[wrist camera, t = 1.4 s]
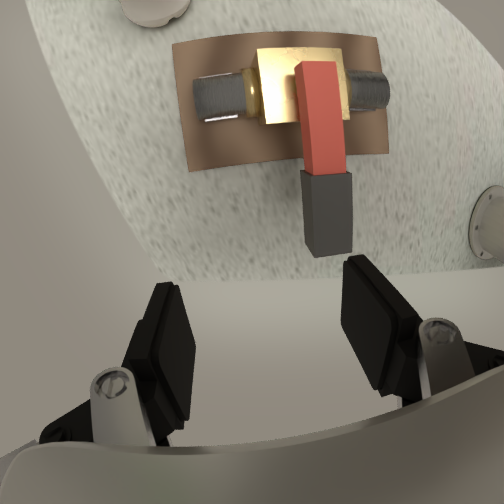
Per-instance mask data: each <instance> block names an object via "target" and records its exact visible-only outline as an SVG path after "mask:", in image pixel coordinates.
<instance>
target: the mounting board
mask: <svg viewBox="0 0 504 504" xmlns="http://www.w3.org/2000/svg"><path fill="white" fill-rule="evenodd" d="M286 47H317V48H339V49H341V51H342V58H343V65H344V67H345V69H353V70H367V71H372V72H381V73H382V68H381V61H380V55H379V49H378V43H377V38H376V37H370V36H362V35H353V34H343V33H329V32H303V31H285V32H259V33H245V34H234V35H225V36H218V37H210V38H204V39H198V40H192V41H186V42H181V43H176V44H172V50H173V60H174V69H175V77H176V86H177V94H178V101H179V109H180V116H181V123H182V130H183V137H184V144H185V150H186V157H187V163H188V169H189V172H193V171H200V170H206V169H212V168H219V167H226V166H233V165H240V164H248V163H256V162H265V161H274V160H284V159H294V158H304V154H303V143H302V133H301V123H300V122H289V123H276V124H265V125H258V119H257V117H249V118H246V115H245V114H239V115H237V118H233V119H225V120H218V121H212V122H205V119H204V120H198V117H197V114H196V109H195V103H194V96H193V79H199V78H201V77H207V76H214V75H221V74H228V73H232V74H233V73H240V69H241V68H251V63H252V61H253V58H254V55H255V52H256V50H257V49H263V48H286ZM349 116H350V120H343V129H344V142H345V155H354V154H389V143H388V125H387V112H386V107H385V108H384V109H376V111H349Z"/></svg>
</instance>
